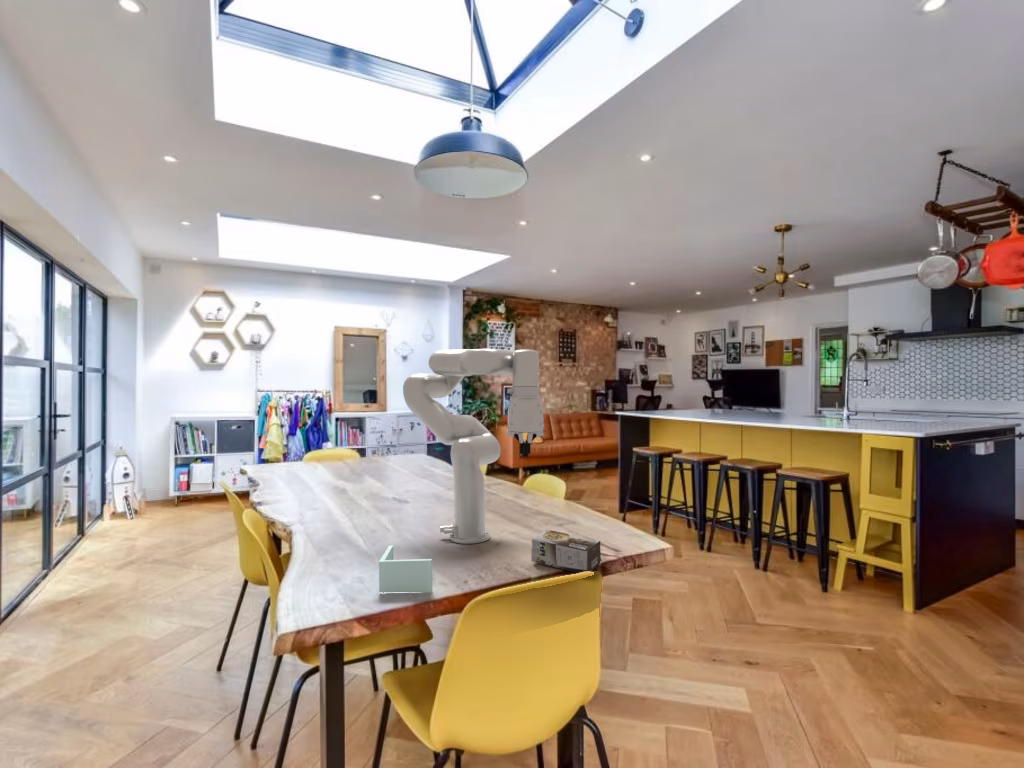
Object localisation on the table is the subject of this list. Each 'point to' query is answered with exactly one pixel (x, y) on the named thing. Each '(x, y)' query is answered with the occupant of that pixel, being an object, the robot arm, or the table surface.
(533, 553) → the coffee box
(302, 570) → the table surface
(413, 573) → the right angle wall
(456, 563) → the table surface
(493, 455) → the robot arm
